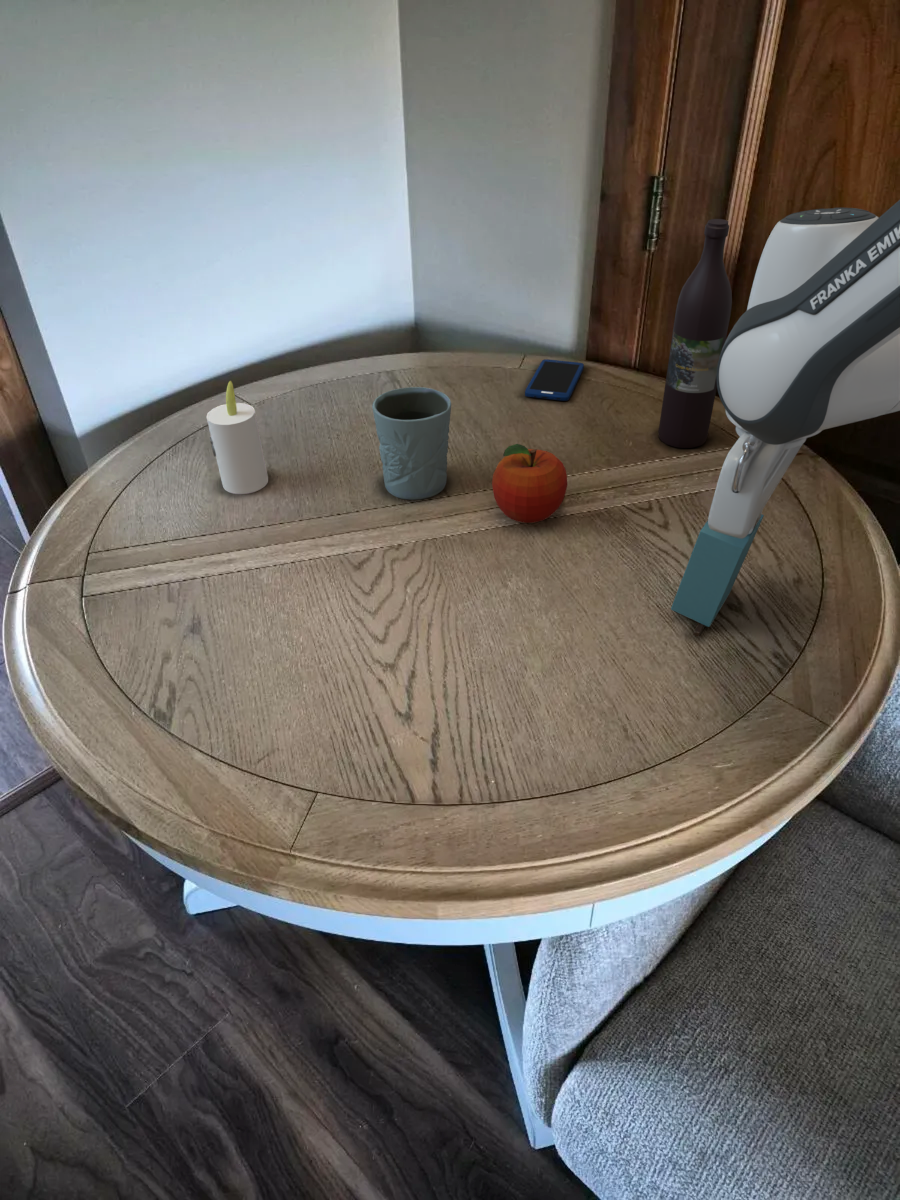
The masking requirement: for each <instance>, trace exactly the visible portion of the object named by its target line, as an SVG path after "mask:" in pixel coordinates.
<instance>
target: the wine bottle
mask: <svg viewBox="0 0 900 1200" xmlns="http://www.w3.org/2000/svg"><path fill="white" fill-rule="evenodd" d="M729 231H730V225H729V221H728V220H726V219H722V218H711V219H708V220H707V223H706V224H705V227H704V232H703V233H704V236H705V237H704V243H703V249H702V251H701V255H700V259H699V261H698V263H697V265H696V266H695V268H694V269H693V270H692V272H691V274H690V275H689V276H688V278H687V279H686V281H685V283H684V284H683V286H682V288H681V290H680V293H679V296H678V299H677V304H676V309H675V314H674V321H673V322H674V323H673V329H672V336H671V341H670V348H669V357H668V362H667V370H666V377H665V383H664V391H663V397H662V404H661V411H660V417H659V424H658V430H657V431H658V433H657V434H658V438H659V440H660V441H661V442H663V443H664V444H665V445H667V446H670V447H674V448H677V449H678V448H679V449H693V448H697V447H700V446H702V445H704V444H705V443H706V441H707V439H708V435H709V432H710V431H709V430H710V426H711V420H712V416H713V409H714V405H715V399H716V395H717V390H718V389H717V381H716V374H717V365H718V361H719V357H720V354H721V351H722V348H723V346H724V344H725V341H726V339H727V337H728V336H727V335H728V330H729V325H730V320H731V314H732V306H733V296H732V295H733V294H732V293H733V292H732V287H731V283H730V280H729V277H728V274H727V271H726V267H725V263H724V250H725V245H726V238H727V237H728V236H729Z"/></svg>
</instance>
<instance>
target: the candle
mask: <svg viewBox="0 0 900 1200" xmlns="http://www.w3.org/2000/svg"><path fill="white" fill-rule="evenodd" d="M225 391H226V392H225V403H224V404H221V405H218V406H215V407H213V408H212V409H210V410H209V411H208V412H207V414H206V421H207V425H208V426H207V427H208V429H209V434H210V436H209V441H210V445H211V449H212V454H213V457H215V460H216V464H217V468H218V470H219V476H220V480H221V484H222V487H223V489H224V490H225V491H226V492H227V493H230V494H233V495H248V494H252V493H255V492H257V491H260V490H262V489H263V488H264V487H266V486H267V485H268V483H269V475H268V471H267V465H266V460H265V455H264V451H263V444H262V440H261V435H260V429H259V423H258V419H257V414H256V409H255V408H254V407H253V406H252V404H251V405H250V404H248V403H244V402H237V399H236V394H235V389H234V384H233V382H232V380H229V381H228V383H227V386H226V390H225Z"/></svg>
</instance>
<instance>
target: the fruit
mask: <svg viewBox="0 0 900 1200" xmlns="http://www.w3.org/2000/svg"><path fill="white" fill-rule="evenodd" d="M502 456H503V458H502V459H500V461H498V463H497V466H496V467H495V469H494V472H493V474H492V478H491V485H492V486H491V487H492V491H493V492H492V494H493V498H494V500H495V503H496V505H497V506H498V508H499V510H500V511H501V512H502V513H503V515H504V516H506V517H507V518H509V519H510V520H512V521H515V522H518V523H523V524H524V523H525V524H530V523H533V524H534V523H539V522H542V521H545V520H547V519H549V518H550V517H551V516H552V515H554V513H556V511H558V510H559V508H560V507H561V505H562V503H563V502H564V500H565V496H566V493H567V489H568V475H567V469H566V466H565V465H564V463H563V462H562V461H561V460H560V459H559V458H558V456H556V455H555V454H554V453H552V452H550V451H548V450H543V449H538V448H537V449H535V448H527V447H526V446H525V445H522V444H520V443H515V444H512V445H508V447H506V449H504V452H503V454H502Z"/></svg>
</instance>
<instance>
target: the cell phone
mask: <svg viewBox="0 0 900 1200" xmlns="http://www.w3.org/2000/svg"><path fill="white" fill-rule="evenodd" d="M584 368H585V364H584V363H583V362H578V361H577V362H576V361H567V360H559V359H545V358H544V359H543V360H541V362H540V364H539V365H538V367H537V369H536V370H535V373H534V374H533V375H532V377H531V379H530V381H529V383H528V384H527V387H526V388H525V391H524V396H525V397H527V398H534V399H542V400H543V399H544V400H553V401H562V402H568V401H569V400H570V398H571V396H572V394H573V392H574V390H575V388H576V386H577V383H578V382H579V379H580V377H581V375H582V373H583V371H584Z"/></svg>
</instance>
